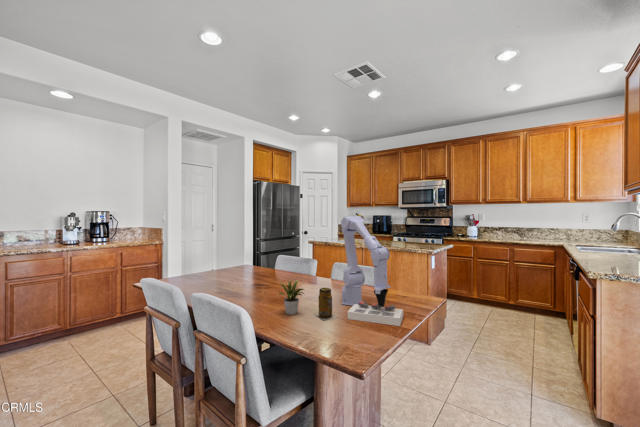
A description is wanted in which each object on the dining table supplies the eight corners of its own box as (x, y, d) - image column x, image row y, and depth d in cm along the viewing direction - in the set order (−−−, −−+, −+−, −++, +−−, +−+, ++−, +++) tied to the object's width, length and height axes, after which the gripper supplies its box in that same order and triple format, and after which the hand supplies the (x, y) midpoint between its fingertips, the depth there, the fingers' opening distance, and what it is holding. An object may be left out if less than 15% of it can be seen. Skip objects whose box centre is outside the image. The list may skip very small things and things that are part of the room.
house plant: (278, 321, 123) (277, 283, 123) (270, 311, 136) (269, 276, 135) (309, 316, 129) (308, 279, 128) (299, 306, 141) (298, 273, 141)
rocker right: (385, 311, 124) (384, 307, 124) (386, 309, 127) (385, 305, 127) (394, 310, 123) (393, 306, 123) (395, 308, 125) (394, 304, 126)
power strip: (347, 319, 124) (347, 311, 124) (357, 308, 138) (356, 300, 138) (399, 326, 116) (399, 317, 116) (404, 313, 130) (404, 306, 130)
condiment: (328, 312, 134) (328, 286, 133) (337, 317, 126) (337, 290, 126) (314, 314, 130) (314, 288, 130) (323, 320, 123) (322, 292, 123)
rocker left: (358, 306, 129) (358, 302, 129) (359, 304, 132) (360, 301, 132) (366, 308, 128) (367, 305, 127) (368, 306, 130) (368, 303, 130)
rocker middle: (371, 308, 127) (371, 305, 127) (372, 306, 129) (372, 303, 129) (380, 309, 125) (380, 306, 125) (381, 307, 128) (381, 304, 128)
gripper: (386, 279, 118) (387, 312, 118) (392, 272, 131) (393, 302, 131) (370, 278, 121) (370, 310, 121) (377, 271, 134) (377, 300, 134)
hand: (381, 306), depth 126 cm, fingers closed, pressing on rocker middle
